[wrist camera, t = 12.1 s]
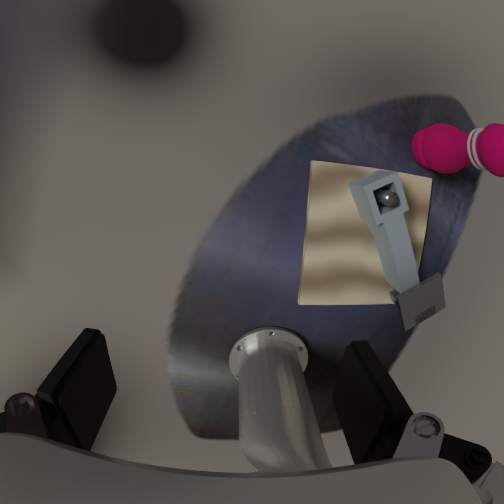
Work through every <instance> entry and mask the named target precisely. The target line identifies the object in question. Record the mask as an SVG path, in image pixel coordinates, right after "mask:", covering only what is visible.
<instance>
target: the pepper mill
mask: <svg viewBox="0 0 504 504" xmlns="http://www.w3.org/2000/svg"><path fill="white" fill-rule="evenodd" d="M412 153H413V156H414V158H415V160H416V161H417V163H418V164H419V165H420V166H422V167H424V168H426V169H433V170H435V171H436V172H438V173H442V174H452V173H455V172H457V171H459V170H461V169H462V168H464V167H466V166H469V165H474V166H475V167H476V168H477V169H479V170H486V171H489V172H490V173H492V174H493V175H495V176H499V177H504V125H503V124H497V123H494V124H490V125H488V126H486V127H485V128H480V129H479V128H477V129H474V130H472V131H471V133H467V132H463V131H461V130H459V129H457V128H456V127H454V126H452V125H449V124H445V123H438V124H434V125H432V126H430V127H429V128H424V129H420V130H419V131H417V132H416V134H415V135H414V137H413V140H412Z"/></svg>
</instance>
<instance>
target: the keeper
mask: <svg viewBox="0 0 504 504" xmlns="http://www.w3.org/2000/svg"><path fill="white" fill-rule="evenodd" d="M389 294H390V298H391V300H392V301H393V302H394V303H395V304H396V305H397V306H398V309H399V313H400V318H401V322H402V327H403V329H404V330H405V331H407V330H408V329H410V328H412V327H414V326H415V325H417V324H419V323H421V322H422V321H424V320H426V319H427V318H429V317H431V316H432V315H434V314H435V313H437V312H439V311H440V310H442V309H443V308H445V300H444V292H443V284H442V278H441V274H440V273H438V272H437V273H436V274H434V275H432V276H430V277H429V278H427V279H425V280H424V281H422V282H420V283H418V284H417V285H415V286H413V287H411V288H410V289H408V290H406V291H404V292H402V293H401V294H400V293H399V292H398V291H397V290H396V289H394V290H392V291H390V292H389Z"/></svg>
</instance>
